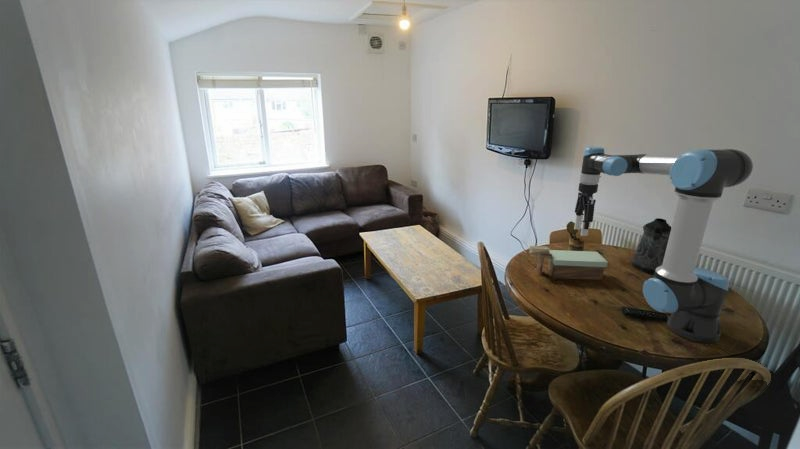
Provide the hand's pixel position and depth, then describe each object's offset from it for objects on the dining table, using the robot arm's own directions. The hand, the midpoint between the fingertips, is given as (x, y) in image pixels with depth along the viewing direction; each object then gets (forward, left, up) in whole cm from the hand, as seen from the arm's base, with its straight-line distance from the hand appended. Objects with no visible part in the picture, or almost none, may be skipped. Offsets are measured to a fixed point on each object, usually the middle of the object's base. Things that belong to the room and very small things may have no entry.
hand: (580, 232), depth 172 cm
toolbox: (0, +3, -21) cm, 21 cm away
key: (0, +17, -11) cm, 21 cm away
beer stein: (+10, -40, -21) cm, 46 cm away
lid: (0, 0, -14) cm, 14 cm away
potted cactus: (+20, -6, -21) cm, 30 cm away
